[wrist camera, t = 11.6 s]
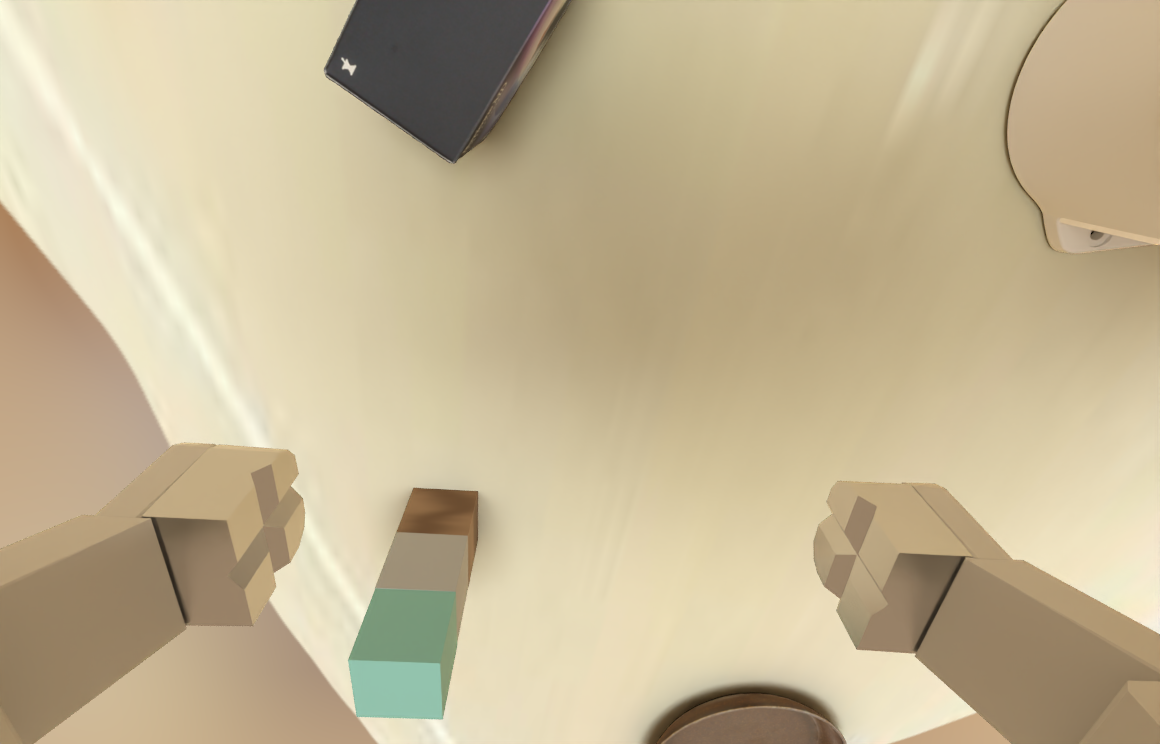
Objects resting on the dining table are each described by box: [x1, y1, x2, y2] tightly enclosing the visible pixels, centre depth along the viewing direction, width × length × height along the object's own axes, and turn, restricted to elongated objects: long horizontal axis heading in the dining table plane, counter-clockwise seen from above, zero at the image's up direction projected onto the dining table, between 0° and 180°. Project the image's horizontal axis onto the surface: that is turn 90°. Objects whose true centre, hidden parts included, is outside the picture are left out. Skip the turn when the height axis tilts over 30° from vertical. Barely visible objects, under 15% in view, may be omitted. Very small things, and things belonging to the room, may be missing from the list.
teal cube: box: [348, 588, 457, 719], centre depth 35 cm, size 5×5×5 cm
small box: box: [324, 0, 571, 164], centre depth 26 cm, size 11×6×10 cm, turn 144°
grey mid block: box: [375, 532, 468, 640], centre depth 39 cm, size 5×5×5 cm
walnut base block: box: [397, 488, 478, 586], centre depth 44 cm, size 5×5×5 cm
